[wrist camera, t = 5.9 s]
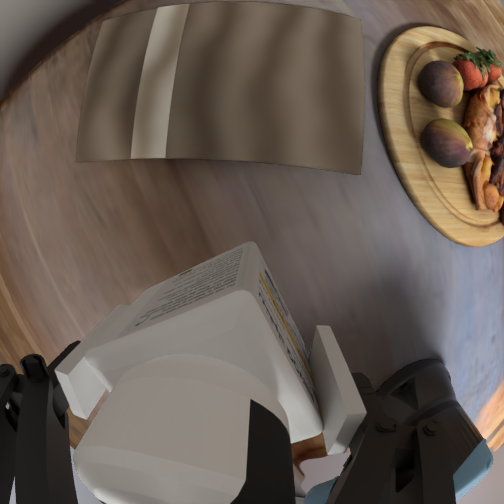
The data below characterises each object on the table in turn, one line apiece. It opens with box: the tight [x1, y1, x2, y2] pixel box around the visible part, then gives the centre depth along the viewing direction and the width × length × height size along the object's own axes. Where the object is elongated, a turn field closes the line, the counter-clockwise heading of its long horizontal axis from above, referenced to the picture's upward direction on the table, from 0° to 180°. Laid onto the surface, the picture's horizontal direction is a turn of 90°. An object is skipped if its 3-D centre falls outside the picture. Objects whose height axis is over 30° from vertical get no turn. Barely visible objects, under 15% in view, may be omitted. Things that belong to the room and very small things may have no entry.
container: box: [73, 241, 323, 504], centre depth 10 cm, size 8×8×13 cm
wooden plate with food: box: [377, 26, 504, 247], centre depth 21 cm, size 32×32×8 cm
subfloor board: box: [75, 2, 364, 175], centre depth 24 cm, size 32×20×2 cm, turn 86°
